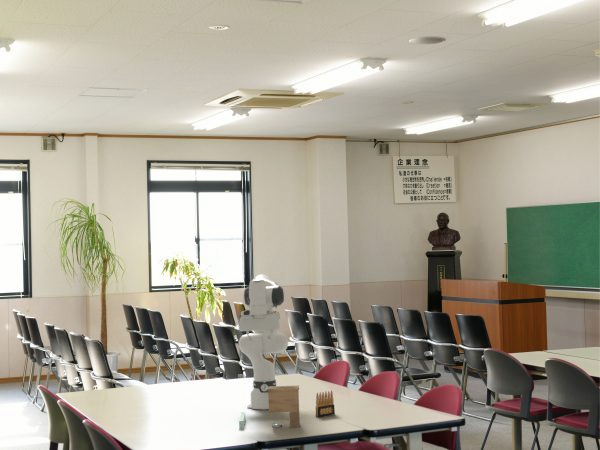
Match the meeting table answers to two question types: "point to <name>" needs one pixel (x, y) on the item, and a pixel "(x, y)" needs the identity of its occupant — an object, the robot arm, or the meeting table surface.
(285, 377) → the meeting table surface
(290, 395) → the wooden l-shaped block
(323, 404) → the ammunition clip
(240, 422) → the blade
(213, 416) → the meeting table surface
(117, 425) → the meeting table surface
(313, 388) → the meeting table surface
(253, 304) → the robot arm
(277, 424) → the token
